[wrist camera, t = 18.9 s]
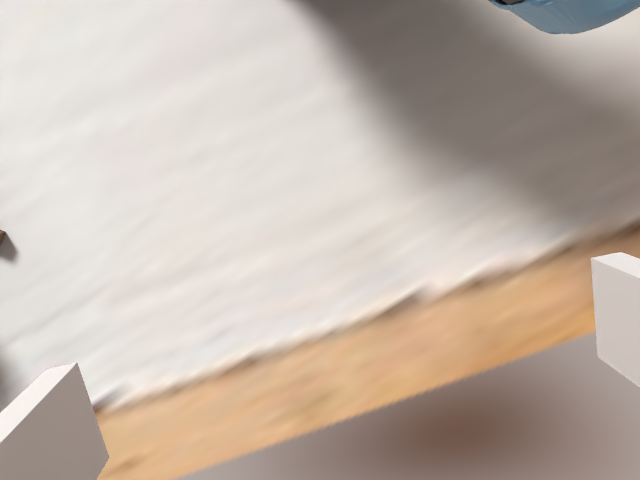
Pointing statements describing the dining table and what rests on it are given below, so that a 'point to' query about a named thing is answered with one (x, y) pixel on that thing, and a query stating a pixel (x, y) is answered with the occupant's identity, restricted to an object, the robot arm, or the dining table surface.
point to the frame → (1, 235)
